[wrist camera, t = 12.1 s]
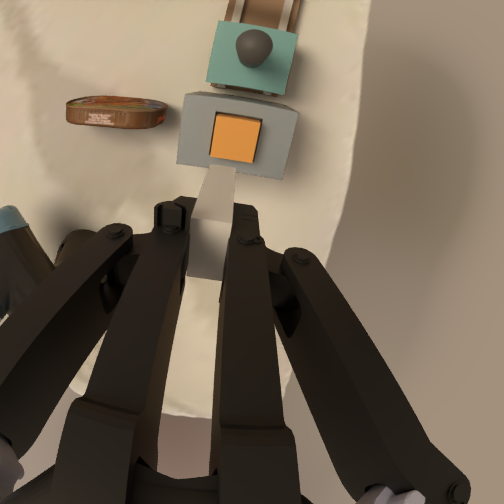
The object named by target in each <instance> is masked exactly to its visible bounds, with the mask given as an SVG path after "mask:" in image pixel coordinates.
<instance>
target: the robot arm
mask: <svg viewBox="0 0 504 504" xmlns="http://www.w3.org/2000/svg"><path fill="white" fill-rule="evenodd" d="M235 177H236V168H234V167H227V166H221V165H214V164H210V166H209V168H208V171H207V174H206V176H205V179H204V182H203V184H202V187H201V190H200V193H199V195H198V198H192V197H184V196H180V197H178V198H176V199H175V200H174V201H165V202H161V203H159V204H157V205H156V206H155V207H154V228H153V230H152V232H150V233H146V234H133V230H132V228H131V227H130V226H128V225H126V224H121V223H113V224H110V225H107V226H105V227H103V228H102V229H101V230H99V231H98V232H97V233H95V232H92V231H89V230H77V231H73V232H71V233H70V234H69V235H68V236H67V237H66V238H65V239H64V240H63V242H62V243H61V245H60V247H59V249H58V252H57V256H56V259H55V263H54V265H53V263H52V262H51V260H50V259H49V257H48V256H47V254H46V253H45V251H44V250H43V248H42V247H41V245H40V244H39V242H38V241H37V239H36V238H35V236H34V234H33V233H32V231H31V229H30V227H29V224H28V223H26V221H25V220H24V218H23V217H22V215H21V213H20V212H19V210H18V209H17V208H16V207H15V206H12V205H7V206H4V207H2V208H1V209H0V321H1V320H2V319H3V318H4V316H5V315H6V314H8V315H9V317H8V318H7V319H6V320H5V321H4V322H3V324H2V325H1V326H0V504H313V503H312V502H311V501H309V500H308V499H307V498H306V497H305V496H303V495H301V493H300V483H299V472H298V463H297V452H296V444H295V438H294V435H293V433H292V430H291V429H289V428H288V427H287V426H286V424H285V422H284V417H283V406H282V395H281V385H280V375H279V365H278V355H277V346H276V336H275V327H276V329H277V332H278V334H279V337H280V339H281V342H282V344H283V346H284V349H285V351H286V354H287V356H288V358H289V361H290V363H291V366H292V368H293V370H294V373H295V375H296V378H297V380H298V382H299V385H300V387H301V390H302V392H303V394H304V397H305V399H306V401H307V404H308V406H309V409H310V411H311V414H312V416H313V418H314V421H315V423H316V425H317V428H318V430H319V433H320V435H321V437H322V440H323V442H324V444H325V447H326V449H327V451H328V454H329V456H330V458H331V461H332V463H333V466H334V468H335V470H336V472H337V474H338V476H339V478H340V480H341V482H342V484H343V486H344V487H345V489H346V490H347V492H348V493H349V494H350V496H351V497H352V498H353V499H354V500H355V501H356V502H357V503H356V504H467V503H468V501H469V498H470V493H471V487H470V482H469V480H468V479H467V477H466V476H465V475H464V474H463V473H462V472H461V471H460V470H459V469H458V468H457V467H456V466H455V465H454V464H453V463H452V462H451V461H450V460H449V459H447V458H446V457H445V456H444V455H443V454H442V453H441V452H440V451H439V450H438V449H437V448H436V447H435V446H434V445H433V444H432V443H431V442H430V440H429V439H428V437H427V435H426V433H425V431H424V429H423V427H422V425H421V423H420V422H419V420H418V418H417V416H416V414H415V413H414V411H413V409H412V407H411V405H410V404H409V402H408V400H407V398H406V396H405V395H404V393H403V391H402V390H401V388H400V386H399V385H398V383H397V381H396V380H395V378H394V376H393V374H392V372H391V371H390V369H389V368H388V366H387V364H386V362H385V361H384V359H383V358H382V356H381V354H380V353H379V351H378V349H377V348H376V346H375V345H374V343H373V341H372V340H371V338H370V337H369V336H368V333H367V332H366V330H365V329H364V327H363V326H362V324H361V322H360V321H359V319H358V318H357V316H356V315H355V313H354V312H353V311H352V309H351V307H350V306H349V304H348V302H347V301H346V299H345V298H344V297H343V295H342V293H341V292H340V290H339V289H338V288H337V286H336V285H335V283H334V282H333V280H332V279H331V277H330V276H329V274H328V273H327V271H326V270H325V268H324V267H323V265H322V264H321V263H320V261H319V260H318V258H317V257H316V256H315V255H314V254H313V253H311V252H310V251H308V250H306V249H304V248H297V247H292V248H288V249H287V250H285V252H284V255H283V254H281V253H278V252H275V251H273V250H270V249H269V248H267V247H266V246H265V241H264V239H263V238H262V237H261V236H260V231H259V222H258V211H257V210H256V209H255V208H254V206H252V205H246V204H239V203H234V191H235ZM186 271H187V275H186ZM185 275H186V276H189V277H196V278H204V279H211V280H218V281H222V285H221V291H220V298H219V303H220V305H219V318H218V331H217V344H216V359H215V374H214V391H213V409H212V431H211V451H210V462H209V476H205V477H197V478H189V479H174V478H171V477H168V476H166V475H163V474H161V473H159V472H157V463H158V445H157V444H158V433H159V425H160V418H161V411H162V404H163V397H164V391H165V385H166V379H167V373H168V367H169V361H170V356H171V350H172V345H173V340H174V334H175V329H176V324H177V320H178V315H179V310H180V305H181V301H182V296H183V291H184V287H185ZM274 325H275V327H274ZM106 330H107V332H106V334H105V337H104V340H103V342H102V345H101V348H100V351H99V353H98V356H97V359H96V362H95V365H94V368H93V371H92V374H91V377H90V380H89V383H88V386H87V389H86V392H85V394H84V395H83V396H82V397H79V398H76V399H75V400H74V401H73V402H72V404H71V406H70V408H69V410H68V414H67V417H66V420H65V424H64V428H63V432H62V436H61V440H60V444H59V449H58V453H57V458H56V463H55V464H54V465H53V466H51V467H50V468H48V469H47V470H46V471H44V472H43V473H41V474H40V475H38V476H37V477H36V478H34V479H33V480H31V481H30V482H28V483H27V484H25V485H24V486H22V487H21V488H19V489H17V490H16V491H14V492H13V488H14V484H15V483H16V481H17V480H18V479H21V478H23V476H24V469H23V467H22V465H21V464H20V463H19V461H18V460H19V459H20V458H21V457H22V456H23V455H24V454H25V453H26V452H27V451H28V450H29V449H30V447H31V446H32V445H33V444H34V442H35V441H36V439H37V437H38V436H39V434H40V433H41V431H42V429H43V427H44V426H45V424H46V422H47V420H48V419H49V417H50V415H51V414H52V412H53V410H54V409H55V407H56V405H57V404H58V402H59V400H60V399H61V397H62V395H63V394H64V392H65V391H66V389H67V388H68V386H69V384H70V383H71V381H72V380H73V378H74V377H75V375H76V374H77V372H78V371H79V369H80V368H81V366H82V365H83V363H84V362H85V360H86V359H87V357H88V356H89V354H90V353H91V351H92V350H93V348H94V347H95V345H96V344H97V343H98V341H99V340H100V338H101V337H102V336H103V334H104V333H105V331H106Z"/></svg>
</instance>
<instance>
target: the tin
mask: <svg viewBox="0 0 504 504" xmlns="http://www.w3.org/2000/svg"><path fill="white" fill-rule="evenodd" d="M166 109H167V105H166V104H165V103H163V102H160V101H156V100H150V99H141V98H130V97H118V96H89V97H82V98H78V99H73V100H70V101H68V102H67V103H66V120H67V122H69V123H72V124H77V125H89V126H101V127H112V128H122V129H147V128H153V127H156V126H158V125H159V124H161V123H163V121H164V118H165V113H166Z"/></svg>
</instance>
